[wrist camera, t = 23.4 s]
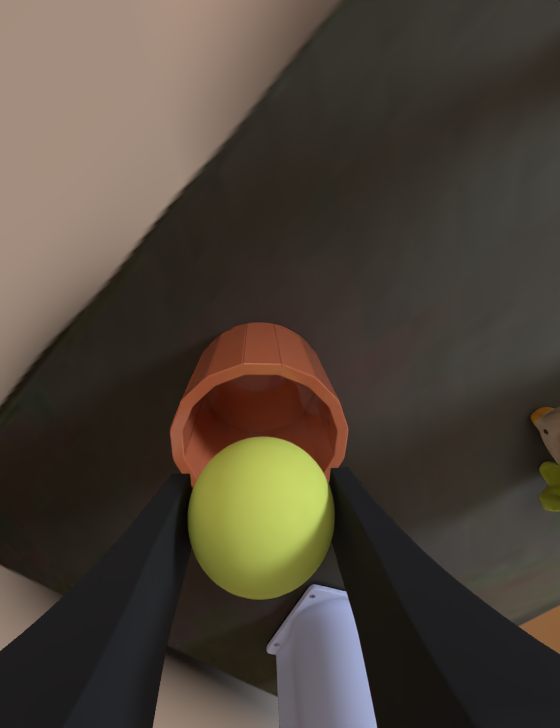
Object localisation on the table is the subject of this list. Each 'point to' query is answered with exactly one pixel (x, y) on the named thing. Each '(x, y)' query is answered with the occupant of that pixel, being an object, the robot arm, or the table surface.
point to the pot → (258, 399)
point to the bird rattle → (556, 434)
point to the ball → (261, 517)
